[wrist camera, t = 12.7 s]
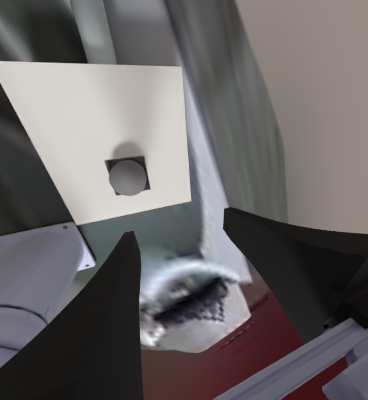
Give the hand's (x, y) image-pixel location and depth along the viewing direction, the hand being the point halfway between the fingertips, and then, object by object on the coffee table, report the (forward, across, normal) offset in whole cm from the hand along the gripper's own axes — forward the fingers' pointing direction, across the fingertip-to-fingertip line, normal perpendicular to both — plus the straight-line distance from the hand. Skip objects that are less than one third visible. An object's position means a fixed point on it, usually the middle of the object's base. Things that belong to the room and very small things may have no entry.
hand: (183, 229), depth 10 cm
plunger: (+6, +4, -4) cm, 8 cm away
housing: (+10, +4, -6) cm, 12 cm away
